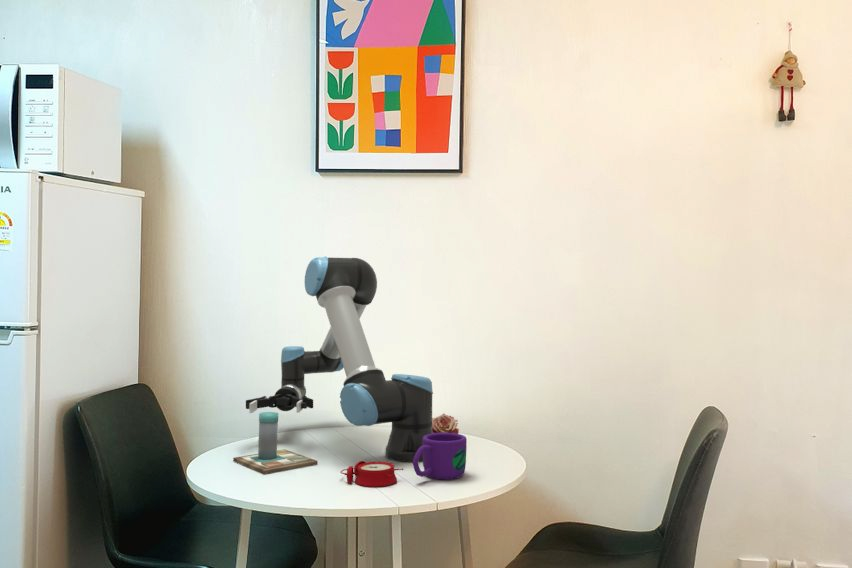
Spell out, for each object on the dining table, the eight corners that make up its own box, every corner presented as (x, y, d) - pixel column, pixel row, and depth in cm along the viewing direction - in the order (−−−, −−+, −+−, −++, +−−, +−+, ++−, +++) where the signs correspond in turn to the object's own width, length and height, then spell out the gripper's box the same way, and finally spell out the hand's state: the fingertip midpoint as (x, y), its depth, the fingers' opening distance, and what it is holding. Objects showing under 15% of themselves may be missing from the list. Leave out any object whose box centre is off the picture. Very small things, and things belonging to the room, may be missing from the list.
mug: (442, 467, 190) (442, 430, 190) (475, 475, 182) (475, 436, 182) (397, 480, 177) (397, 440, 177) (431, 489, 169) (431, 447, 169)
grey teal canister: (280, 457, 194) (281, 414, 195) (263, 460, 191) (265, 415, 191) (271, 454, 198) (272, 411, 198) (254, 456, 195) (255, 413, 195)
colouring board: (317, 464, 193) (317, 459, 193) (264, 474, 182) (264, 469, 182) (284, 452, 206) (284, 447, 206) (233, 461, 196) (233, 456, 196)
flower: (423, 432, 226) (425, 415, 222) (448, 424, 230) (451, 407, 226) (437, 454, 220) (440, 437, 215) (463, 446, 224) (466, 428, 219)
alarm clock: (391, 475, 169) (336, 456, 174) (385, 500, 169) (331, 480, 174) (407, 464, 179) (355, 447, 184) (402, 488, 179) (350, 470, 184)
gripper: (326, 409, 226) (317, 420, 205) (248, 410, 226) (231, 421, 204) (326, 385, 226) (317, 394, 205) (248, 386, 226) (231, 395, 204)
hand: (274, 408), depth 205 cm, fingers open, 13 cm apart
